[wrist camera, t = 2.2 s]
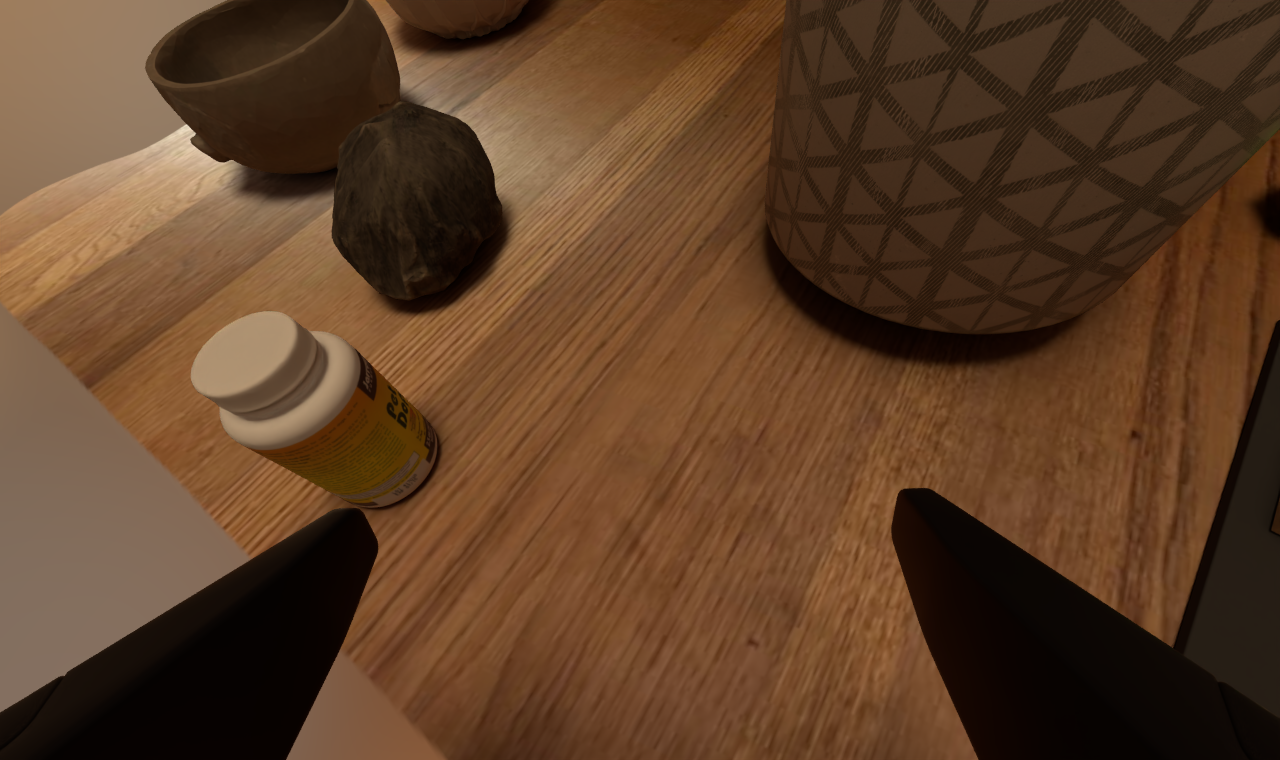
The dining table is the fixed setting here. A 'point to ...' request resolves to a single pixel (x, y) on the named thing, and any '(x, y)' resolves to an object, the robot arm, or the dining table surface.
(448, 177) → the rock
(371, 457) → the supplement bottle
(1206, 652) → the line mat
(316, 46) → the bowl
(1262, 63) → the planter
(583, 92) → the dining table surface
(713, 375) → the dining table surface
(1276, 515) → the maple block
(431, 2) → the vase
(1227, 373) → the dining table surface
